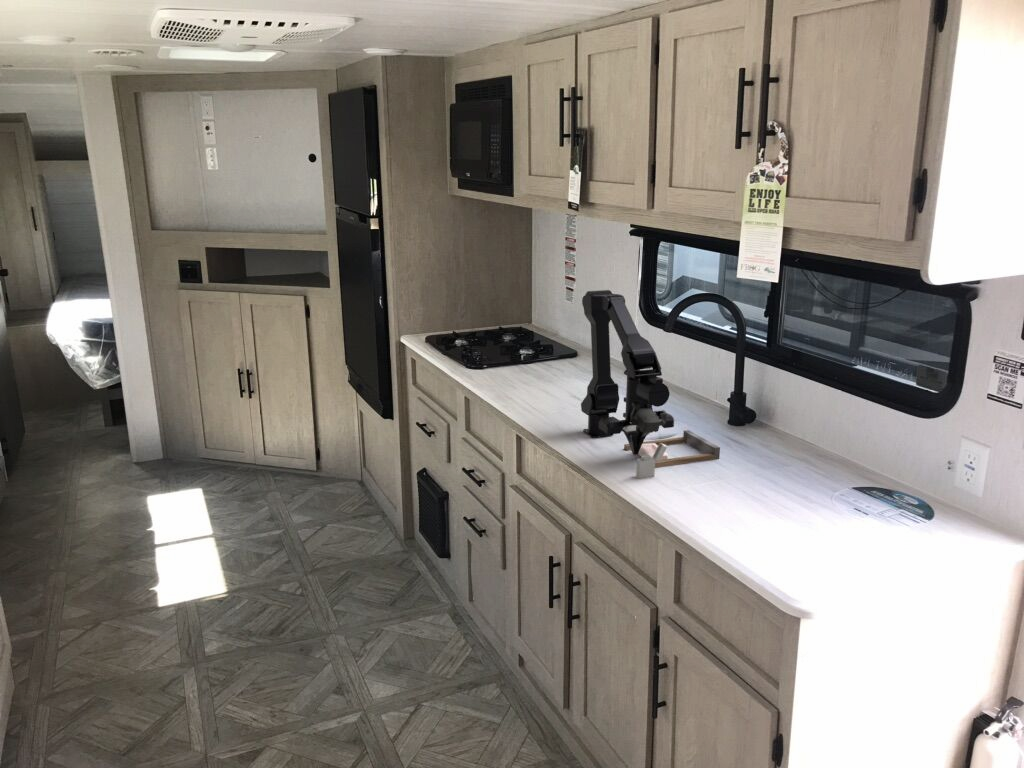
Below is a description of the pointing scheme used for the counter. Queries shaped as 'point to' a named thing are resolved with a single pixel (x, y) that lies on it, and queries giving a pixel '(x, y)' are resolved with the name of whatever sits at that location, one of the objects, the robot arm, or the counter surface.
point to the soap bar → (650, 450)
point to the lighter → (649, 462)
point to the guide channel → (693, 440)
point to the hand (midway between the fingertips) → (635, 454)
